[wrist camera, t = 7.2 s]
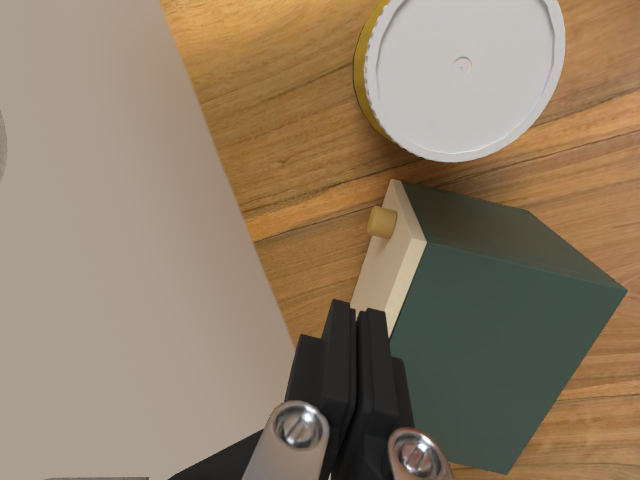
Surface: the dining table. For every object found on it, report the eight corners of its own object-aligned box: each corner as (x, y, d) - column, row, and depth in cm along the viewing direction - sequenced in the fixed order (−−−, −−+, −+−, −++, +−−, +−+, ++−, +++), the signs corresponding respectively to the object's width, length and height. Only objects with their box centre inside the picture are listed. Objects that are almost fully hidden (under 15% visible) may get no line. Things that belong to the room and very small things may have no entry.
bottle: (481, 55, 25) (634, 35, 11) (411, 143, 28) (466, 212, 14) (398, -16, 24) (457, -133, 10) (333, 83, 27) (310, 95, 13)
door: (327, 322, 34) (315, 430, 24) (372, 173, 29) (383, 230, 18) (351, 328, 34) (350, 439, 24) (401, 180, 29) (427, 242, 18)
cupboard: (353, 327, 35) (353, 439, 24) (400, 179, 29) (427, 242, 18) (460, 352, 35) (507, 475, 24) (528, 210, 29) (629, 290, 18)
